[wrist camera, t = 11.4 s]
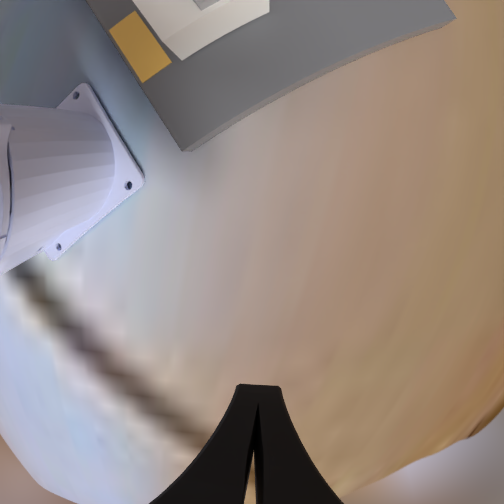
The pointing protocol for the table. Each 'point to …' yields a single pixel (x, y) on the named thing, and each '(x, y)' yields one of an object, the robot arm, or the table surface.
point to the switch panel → (257, 55)
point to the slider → (197, 20)
